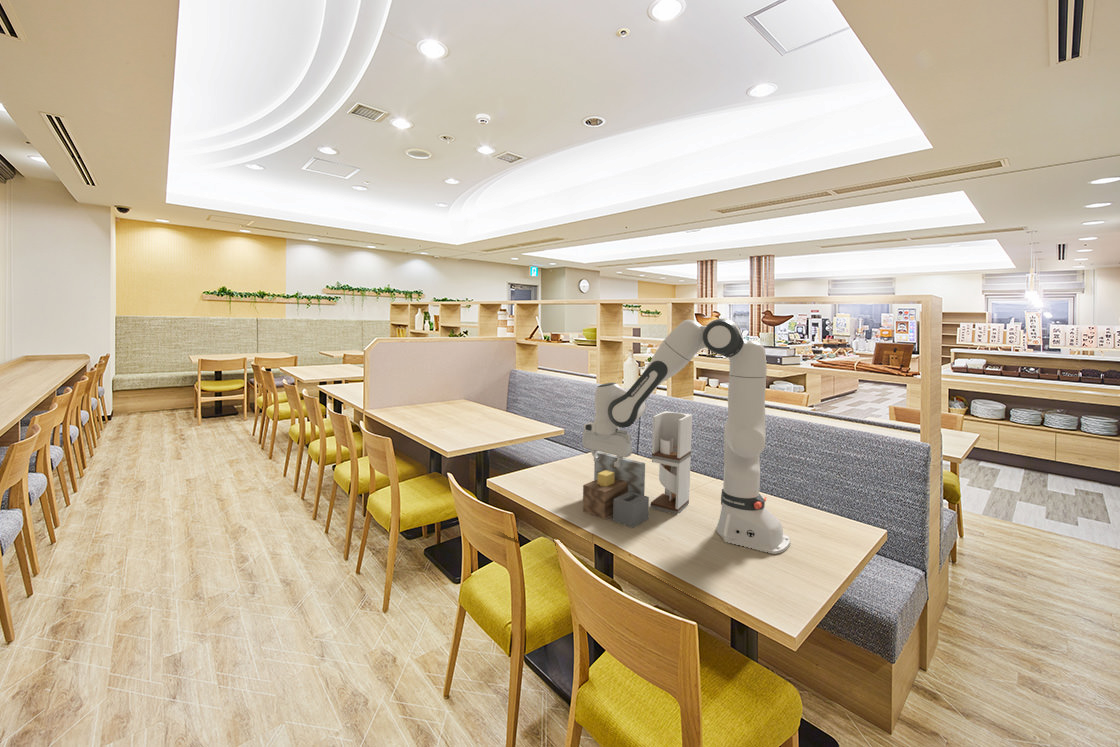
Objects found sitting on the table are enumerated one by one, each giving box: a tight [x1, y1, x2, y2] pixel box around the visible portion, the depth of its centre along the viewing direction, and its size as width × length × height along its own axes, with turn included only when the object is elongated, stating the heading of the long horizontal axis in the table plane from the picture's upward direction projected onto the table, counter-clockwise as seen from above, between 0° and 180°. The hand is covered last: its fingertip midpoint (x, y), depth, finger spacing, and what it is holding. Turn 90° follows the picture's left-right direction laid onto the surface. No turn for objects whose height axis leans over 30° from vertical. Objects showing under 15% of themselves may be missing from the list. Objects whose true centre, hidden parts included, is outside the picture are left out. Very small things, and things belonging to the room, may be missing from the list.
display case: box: [649, 410, 693, 515], centre depth 177 cm, size 11×11×35 cm
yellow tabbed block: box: [597, 470, 615, 486], centre depth 175 cm, size 4×5×8 cm
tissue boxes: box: [582, 451, 646, 520], centre depth 176 cm, size 22×16×18 cm
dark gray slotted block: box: [612, 491, 650, 529], centre depth 167 cm, size 8×10×8 cm
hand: (606, 464), depth 174 cm, fingers open, 8 cm apart
